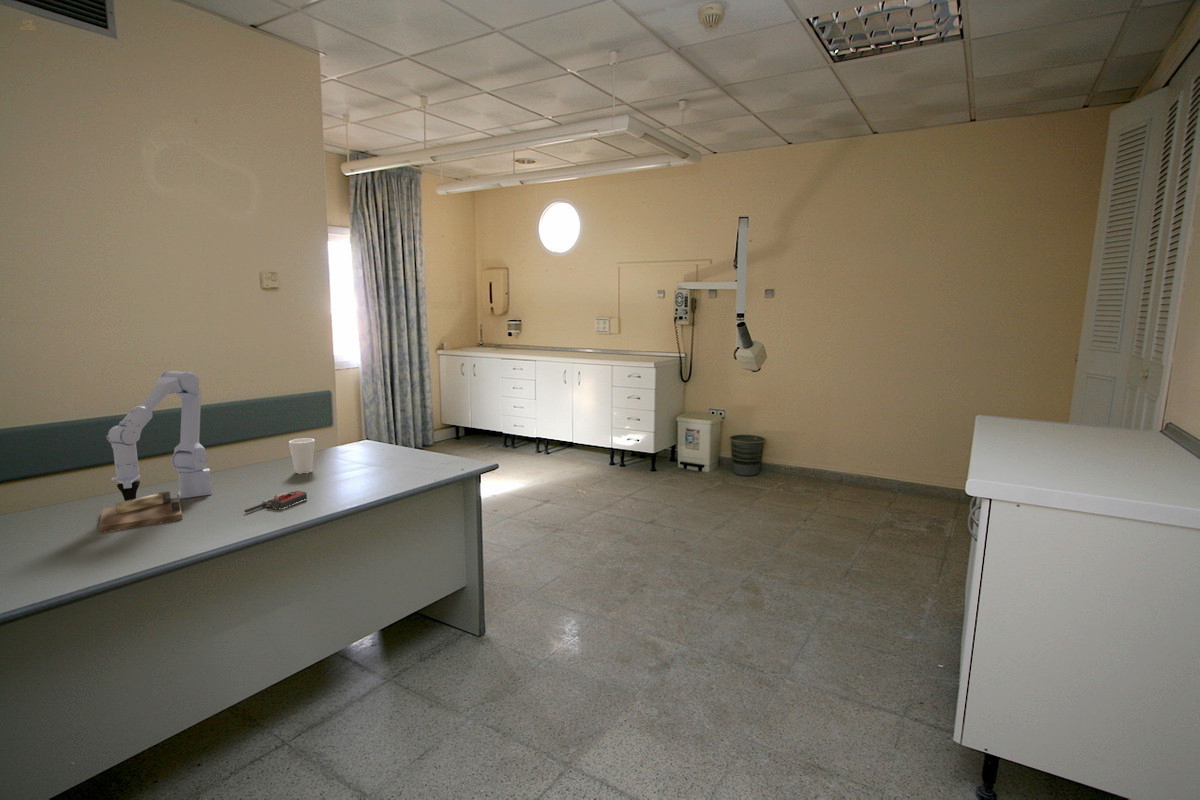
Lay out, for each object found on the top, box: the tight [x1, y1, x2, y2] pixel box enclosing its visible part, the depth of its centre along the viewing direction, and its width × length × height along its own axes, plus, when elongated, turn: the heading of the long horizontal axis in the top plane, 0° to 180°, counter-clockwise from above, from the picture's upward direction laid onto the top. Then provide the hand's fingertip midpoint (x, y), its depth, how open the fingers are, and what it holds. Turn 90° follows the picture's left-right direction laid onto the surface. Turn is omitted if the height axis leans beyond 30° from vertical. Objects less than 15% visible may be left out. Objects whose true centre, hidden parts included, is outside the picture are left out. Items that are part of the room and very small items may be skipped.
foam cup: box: [288, 437, 316, 475], centre depth 240 cm, size 10×9×13 cm
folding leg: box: [114, 491, 172, 514], centre depth 190 cm, size 15×3×3 cm, turn 151°
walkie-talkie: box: [243, 490, 308, 513], centre depth 199 cm, size 9×4×20 cm
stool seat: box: [98, 497, 183, 533], centre depth 187 cm, size 20×20×5 cm
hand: (130, 504), depth 188 cm, fingers closed, pressing on folding leg
